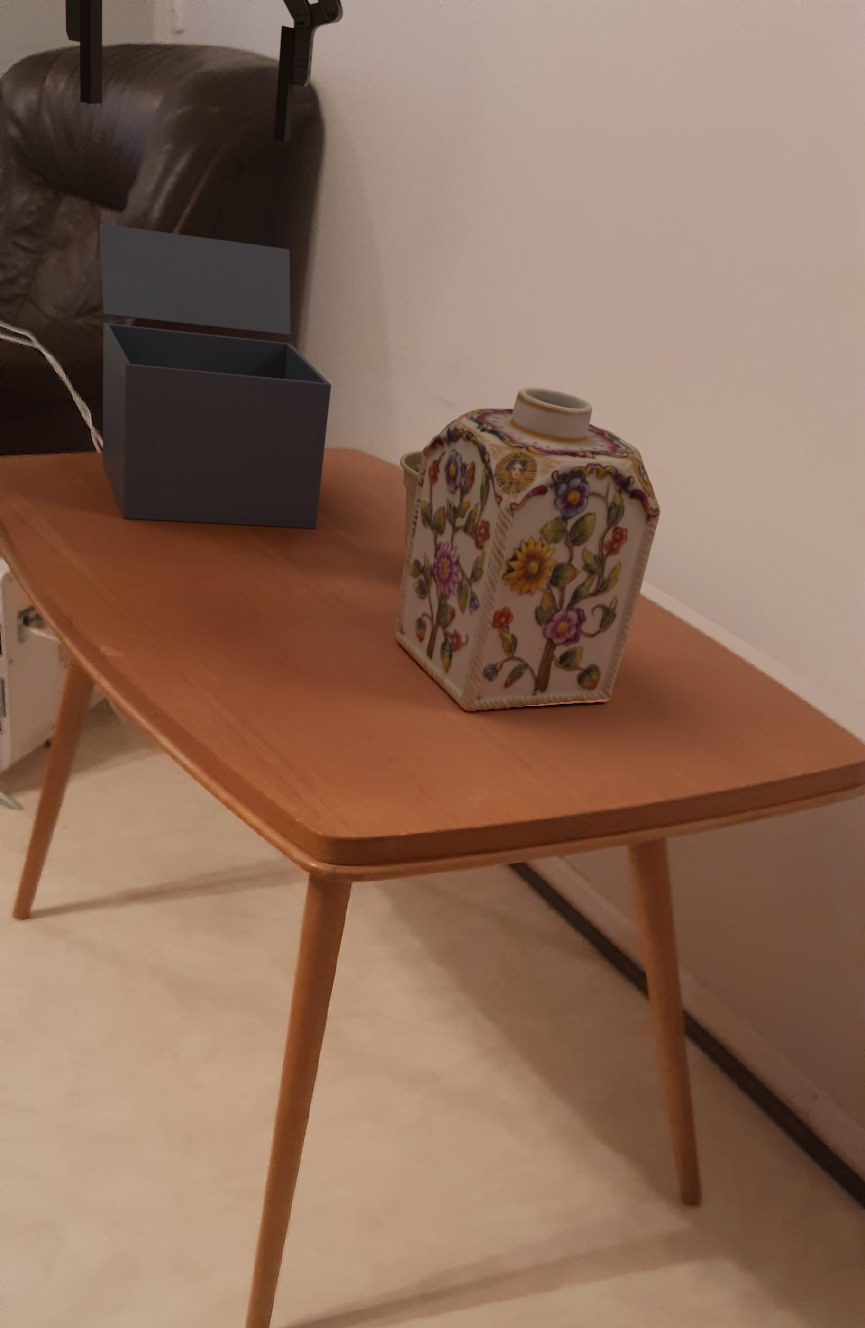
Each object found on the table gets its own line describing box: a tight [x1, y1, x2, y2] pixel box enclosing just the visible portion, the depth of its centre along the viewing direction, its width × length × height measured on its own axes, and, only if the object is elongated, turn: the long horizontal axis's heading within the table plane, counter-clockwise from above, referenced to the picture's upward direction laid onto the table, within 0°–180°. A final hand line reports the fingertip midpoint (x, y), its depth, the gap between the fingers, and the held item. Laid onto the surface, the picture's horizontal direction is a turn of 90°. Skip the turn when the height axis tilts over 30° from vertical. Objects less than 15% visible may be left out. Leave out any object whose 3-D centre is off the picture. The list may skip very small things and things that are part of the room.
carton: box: [102, 322, 332, 530], centre depth 101 cm, size 16×14×11 cm
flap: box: [99, 223, 292, 336], centre depth 102 cm, size 16×7×1 cm
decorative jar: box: [394, 387, 661, 712], centre depth 79 cm, size 12×12×18 cm
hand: (186, 122), depth 86 cm, fingers open, 13 cm apart
